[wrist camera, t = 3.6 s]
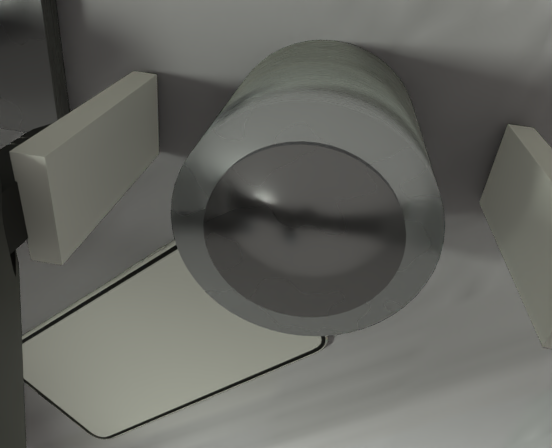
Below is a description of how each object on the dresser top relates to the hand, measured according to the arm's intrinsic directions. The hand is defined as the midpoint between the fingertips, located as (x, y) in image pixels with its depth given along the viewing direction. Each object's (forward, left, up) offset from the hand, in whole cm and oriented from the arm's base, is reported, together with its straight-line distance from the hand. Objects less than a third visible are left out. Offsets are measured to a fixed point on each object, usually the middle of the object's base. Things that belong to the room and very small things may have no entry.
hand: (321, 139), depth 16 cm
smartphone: (-6, -11, -1) cm, 13 cm away
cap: (0, 0, 0) cm, 0 cm away
